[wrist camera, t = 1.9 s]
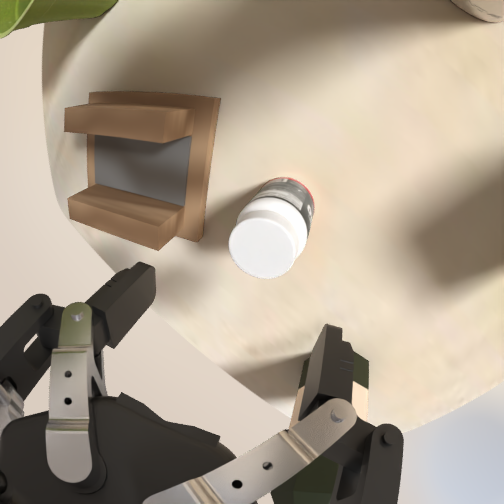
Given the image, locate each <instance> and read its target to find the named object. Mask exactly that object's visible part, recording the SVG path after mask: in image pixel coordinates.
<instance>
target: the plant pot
mask: <svg viewBox="0 0 504 504" xmlns="http://www.w3.org/2000/svg"><path fill="white" fill-rule="evenodd" d="M116 2H117V0H0V38H3V37H5V36H7V35H9V34H10V33H11V32H12V31H14V30H18V29H22V28H26V27H29V26H31V25H34V24H40V23H46V22H53V21H62V20H71V19H85V18H95V17H98V16H100V15H102V14H103V12H105V11H106V10H108V9H109V8H111V7H112V6H113V5H114V4H115V3H116Z"/></svg>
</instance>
